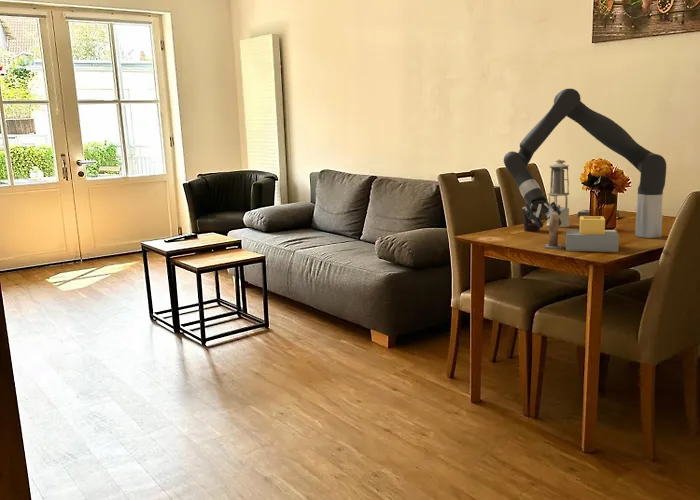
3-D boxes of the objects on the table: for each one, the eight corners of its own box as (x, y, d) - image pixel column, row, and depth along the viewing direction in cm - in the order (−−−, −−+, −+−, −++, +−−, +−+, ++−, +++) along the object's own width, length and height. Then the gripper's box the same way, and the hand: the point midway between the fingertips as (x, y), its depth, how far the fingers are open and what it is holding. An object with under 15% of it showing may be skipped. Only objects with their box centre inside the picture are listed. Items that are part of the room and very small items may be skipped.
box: (614, 219, 302) (614, 212, 301) (577, 217, 312) (577, 211, 311) (619, 216, 311) (619, 210, 310) (583, 215, 320) (583, 209, 320)
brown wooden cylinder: (557, 245, 245) (558, 214, 243) (557, 246, 242) (558, 215, 240) (548, 244, 246) (549, 214, 244) (548, 246, 243) (549, 215, 241)
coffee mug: (519, 231, 279) (520, 208, 277) (524, 228, 286) (524, 206, 284) (547, 233, 273) (547, 209, 271) (550, 229, 281) (551, 207, 279)
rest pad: (561, 245, 246) (561, 244, 246) (561, 248, 241) (561, 247, 241) (545, 245, 248) (545, 244, 248) (545, 248, 242) (545, 247, 242)
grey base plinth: (615, 245, 243) (616, 215, 241) (618, 251, 232) (619, 220, 229) (565, 244, 248) (566, 215, 246) (566, 250, 237) (567, 219, 235)
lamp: (543, 226, 289) (544, 160, 284) (552, 222, 300) (554, 158, 294) (566, 228, 284) (568, 160, 278) (574, 223, 294) (577, 158, 288)
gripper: (521, 188, 247) (540, 221, 239) (551, 186, 252) (570, 218, 244) (513, 200, 253) (530, 233, 244) (542, 198, 258) (560, 230, 250)
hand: (550, 226), depth 244 cm, fingers open, 8 cm apart
